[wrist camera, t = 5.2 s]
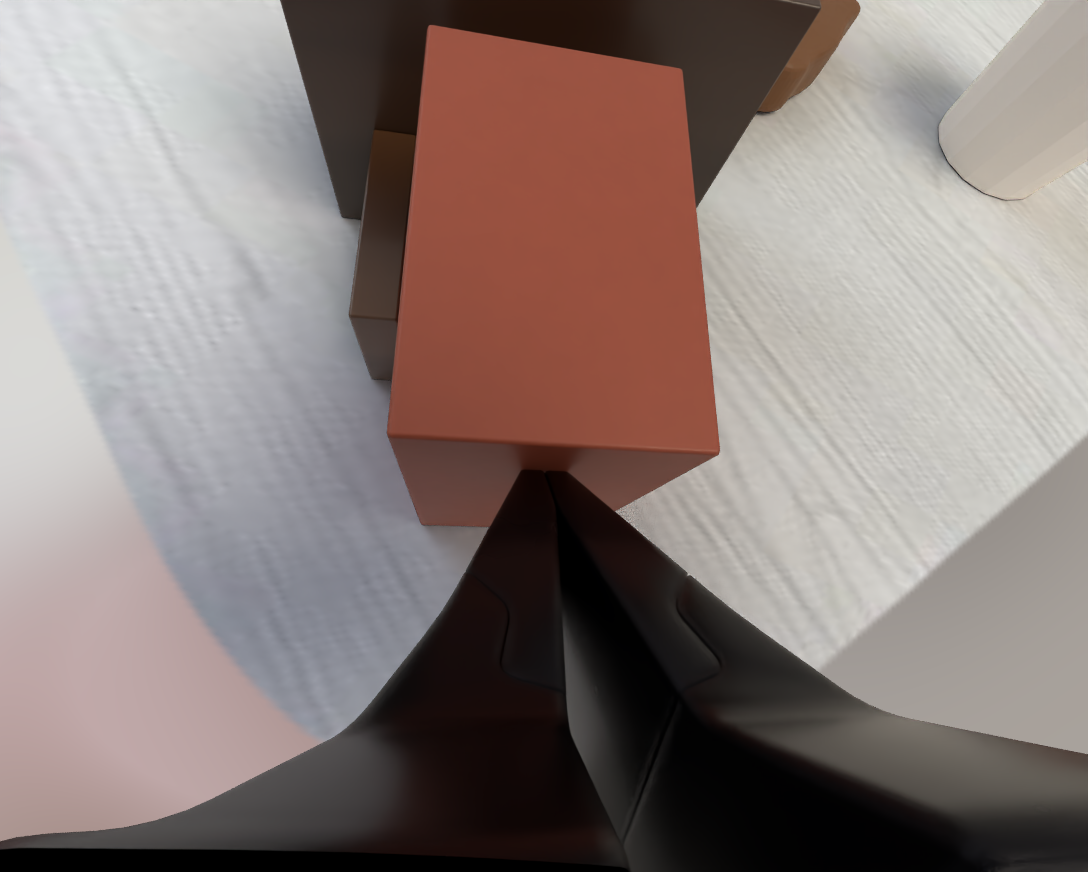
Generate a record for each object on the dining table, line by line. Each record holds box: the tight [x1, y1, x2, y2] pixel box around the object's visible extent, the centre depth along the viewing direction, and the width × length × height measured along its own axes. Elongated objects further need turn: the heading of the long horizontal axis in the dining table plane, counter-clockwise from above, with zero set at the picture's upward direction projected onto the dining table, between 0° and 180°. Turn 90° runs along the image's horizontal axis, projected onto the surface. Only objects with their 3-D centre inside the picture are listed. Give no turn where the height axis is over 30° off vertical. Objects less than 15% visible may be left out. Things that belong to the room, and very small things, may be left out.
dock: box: [280, 0, 821, 380], centre depth 15 cm, size 10×12×9 cm
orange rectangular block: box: [387, 25, 720, 527], centre depth 13 cm, size 8×5×9 cm, turn 0°
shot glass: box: [939, 0, 1088, 200], centre depth 22 cm, size 7×7×7 cm
